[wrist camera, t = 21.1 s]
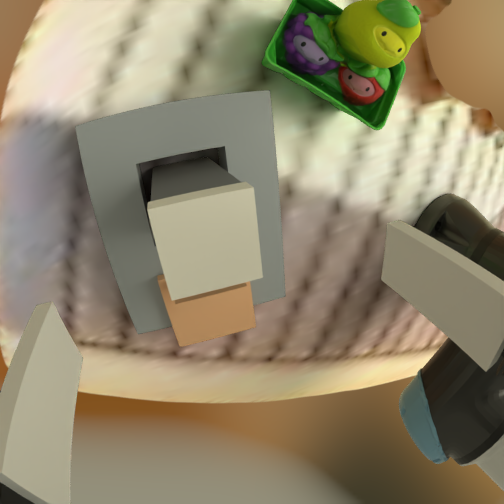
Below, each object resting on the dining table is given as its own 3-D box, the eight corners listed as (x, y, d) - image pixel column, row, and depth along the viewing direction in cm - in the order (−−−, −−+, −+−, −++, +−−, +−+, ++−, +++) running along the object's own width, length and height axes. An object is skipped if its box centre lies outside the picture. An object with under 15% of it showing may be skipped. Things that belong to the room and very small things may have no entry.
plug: (207, 155, 23) (253, 187, 13) (215, 207, 25) (262, 277, 15) (151, 166, 22) (147, 209, 12) (162, 219, 24) (171, 300, 14)
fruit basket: (240, 70, 21) (305, 39, 11) (281, -6, 18) (357, -56, 8) (346, 129, 26) (438, 147, 16) (376, 58, 23) (466, 53, 13)
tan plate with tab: (244, 254, 24) (262, 282, 20) (253, 321, 28) (269, 353, 24) (157, 275, 23) (159, 307, 19) (178, 341, 26) (185, 376, 22)
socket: (256, 93, 22) (269, 90, 19) (273, 280, 30) (285, 296, 28) (85, 125, 19) (75, 126, 16) (138, 314, 27) (138, 334, 24)
